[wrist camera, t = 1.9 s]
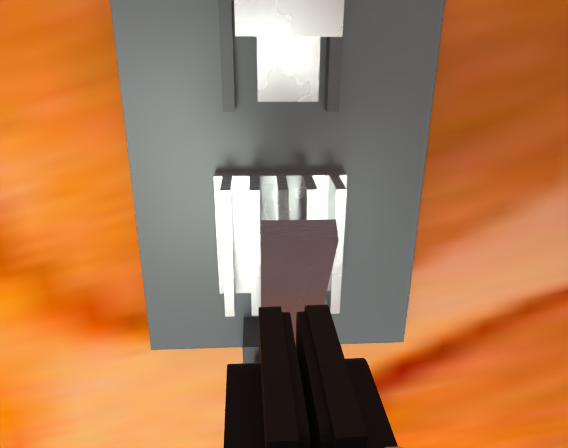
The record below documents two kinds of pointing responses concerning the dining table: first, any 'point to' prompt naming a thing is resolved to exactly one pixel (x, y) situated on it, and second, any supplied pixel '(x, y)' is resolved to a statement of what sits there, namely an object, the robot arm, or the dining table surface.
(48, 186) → the dining table surface
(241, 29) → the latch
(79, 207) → the dining table surface
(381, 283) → the socket board
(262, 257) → the silver metal bar
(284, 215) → the heatsink
